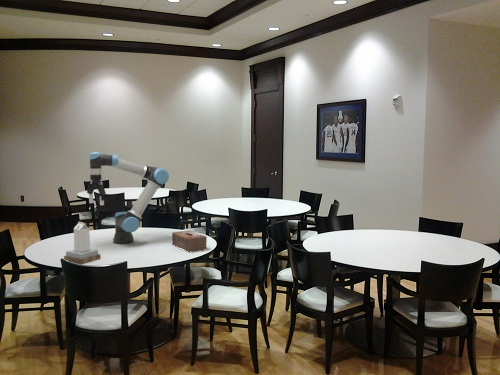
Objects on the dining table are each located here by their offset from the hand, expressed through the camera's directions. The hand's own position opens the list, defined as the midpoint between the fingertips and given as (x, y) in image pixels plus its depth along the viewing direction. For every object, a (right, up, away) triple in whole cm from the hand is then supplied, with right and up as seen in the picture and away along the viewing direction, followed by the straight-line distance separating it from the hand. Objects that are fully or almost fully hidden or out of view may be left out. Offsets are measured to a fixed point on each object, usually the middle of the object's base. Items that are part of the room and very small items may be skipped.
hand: (96, 204), depth 327 cm
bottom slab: (-1, -36, -24) cm, 43 cm away
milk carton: (-1, -30, -24) cm, 39 cm away
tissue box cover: (+64, -33, +13) cm, 73 cm away
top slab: (-1, -33, -24) cm, 41 cm away
